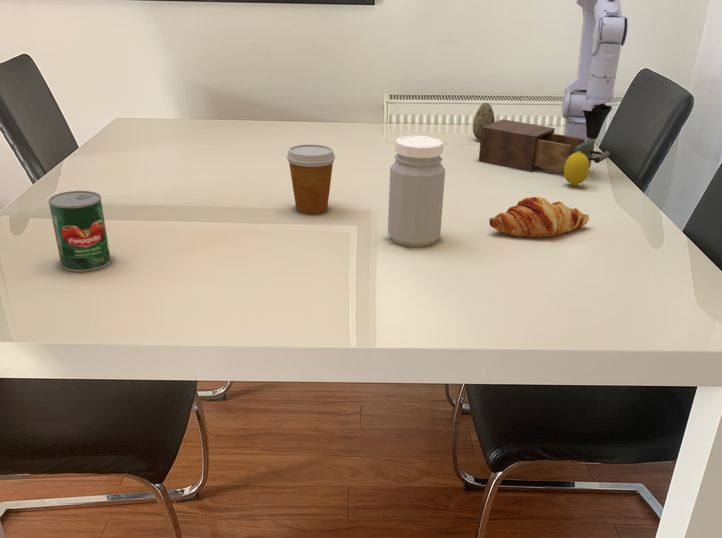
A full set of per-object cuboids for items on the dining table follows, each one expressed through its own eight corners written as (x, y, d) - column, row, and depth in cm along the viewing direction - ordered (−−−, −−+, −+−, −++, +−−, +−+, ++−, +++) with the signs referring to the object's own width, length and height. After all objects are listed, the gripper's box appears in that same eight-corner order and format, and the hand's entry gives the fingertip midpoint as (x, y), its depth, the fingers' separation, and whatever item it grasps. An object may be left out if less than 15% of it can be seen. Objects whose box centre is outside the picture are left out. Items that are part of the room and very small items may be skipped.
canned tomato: (82, 275, 121) (70, 209, 115) (50, 264, 124) (37, 199, 119) (121, 260, 127) (111, 196, 121) (90, 250, 130) (78, 187, 125)
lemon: (584, 183, 175) (590, 148, 171) (587, 190, 171) (593, 155, 166) (560, 182, 176) (565, 147, 172) (562, 189, 171) (568, 153, 167)
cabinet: (549, 162, 190) (554, 128, 186) (531, 171, 182) (536, 136, 178) (498, 152, 197) (502, 119, 193) (478, 161, 189) (481, 126, 184)
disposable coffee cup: (343, 206, 155) (343, 147, 149) (320, 220, 147) (320, 158, 141) (303, 199, 158) (302, 141, 152) (279, 212, 151) (276, 151, 144)
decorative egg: (472, 137, 210) (475, 99, 205) (493, 138, 209) (497, 101, 204) (471, 142, 205) (474, 104, 200) (493, 144, 204) (497, 105, 199)
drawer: (609, 170, 182) (614, 142, 179) (594, 180, 175) (599, 151, 172) (539, 157, 191) (543, 130, 187) (522, 165, 183) (526, 137, 180)
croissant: (575, 238, 154) (572, 198, 153) (604, 231, 144) (601, 189, 143) (481, 244, 147) (477, 203, 147) (504, 237, 138) (500, 193, 137)
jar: (403, 251, 135) (408, 150, 125) (378, 233, 142) (381, 136, 133) (449, 244, 139) (458, 145, 130) (423, 227, 146) (429, 132, 137)
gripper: (609, 82, 161) (597, 146, 168) (630, 74, 172) (618, 135, 179) (577, 78, 164) (567, 141, 171) (600, 70, 175) (590, 130, 182)
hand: (591, 138), depth 175 cm, fingers closed
